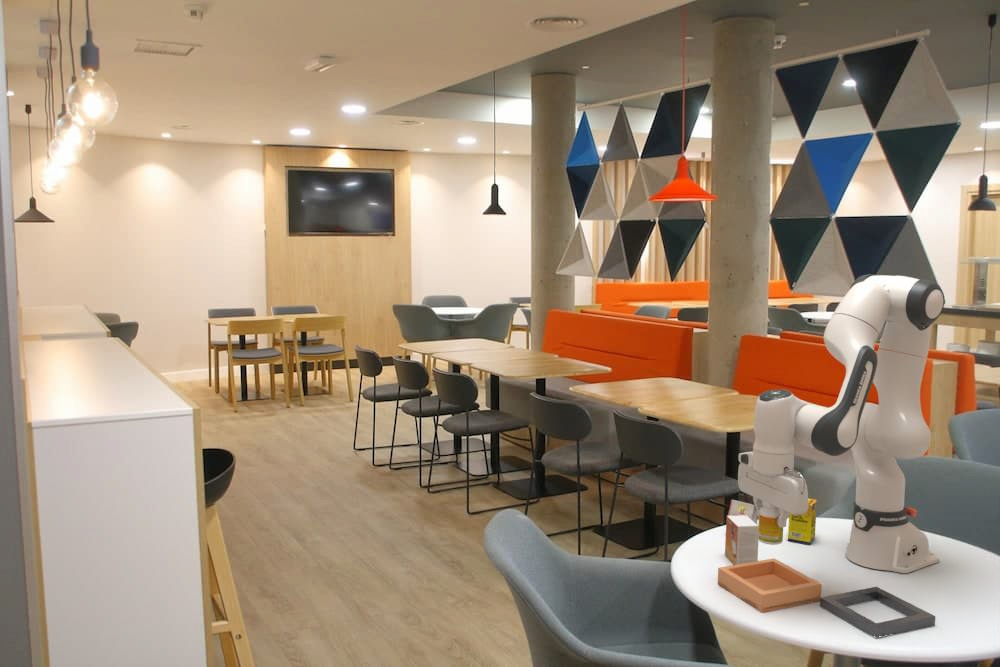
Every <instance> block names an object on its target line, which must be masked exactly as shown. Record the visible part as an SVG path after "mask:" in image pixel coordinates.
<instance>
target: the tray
mask: <svg viewBox="0 0 1000 667" xmlns="http://www.w3.org/2000/svg"><path fill="white" fill-rule="evenodd" d="M717 568H718V569H717V586H718V585H719V586H720V587H722V588H723V589H725V590H726V591H728V592H729V593H731V594H732V595H734V596H736V597H737V598H739V599H740V600H742V601H743V602H745V603H746V604H748V605H750V606H751V607H752V608H754V609H756V610H757V611H759V612H760V613H766V612H772V611H776V610H782V609H785V608H786V609H787V608H792V607H797V606H801V605H807V604H813V603H818V602H820V597H822V583H820V582H819V581H817V580H815V579H813V578H812V577H809V576H808V575H807V574H804V573H802V572H800V571H799V570H797V569H795V568H793V567H791V566H789V565H787V564H786V563H784V562H782V561H780V560H779V559H776V558H775V557H774V558H768V559H762V560H758V561H755V562H749V563H743V564H737V565H734V564H733V565H732V564H731V565H727V566H720V567H717Z"/></svg>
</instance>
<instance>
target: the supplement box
mask: <svg viewBox="0 0 1000 667" xmlns="http://www.w3.org/2000/svg"><path fill="white" fill-rule="evenodd" d="M817 502H818V500H817V499H814V498H808V510H807V512H806V513H805V514H799V515H793V514H790V515H789V517H788V535H787V541H788V542H792V543H797V544H801V545H809V546H810V545H811V544H812V542H813V541H814V540H815V539H816V527H817V526H816V523H817Z"/></svg>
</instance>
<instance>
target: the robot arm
mask: <svg viewBox="0 0 1000 667" xmlns="http://www.w3.org/2000/svg"><path fill="white" fill-rule="evenodd" d="M945 302H946V301H945V294H944V291H943V289H942V288H941V286H940V285H939V284H938V283H936V282H934V281H932V280H929V279H919V278H915V277H911V276H906V275H886V274H885V275H884V274H883V275H881V274H879V275H878V274H876V273H873V274H872V273H871V274H870V273H869V274H868V273H867V274H864V275H860V276H858V277H857V278H856V279H855V280H854V281H853V282H852V284H851V285H850V287H849V289H848V291H847V292H846V293H845V295H844V296H843V297H842V299H841V300H840V302H839V303H838V305H837V306H836V308H835V310H834V312H833V313H832V315H831V317H830V319H829V321H828V322H827V325H826V326H825V329H824V332H823V342H824V343H823V344H824V345H825V348H826V349H827V351H828V353H829V354H830V355H831V356H832V357H833V358H834V359H835V360H837V361H838V362H839V363H841V364H842V365H844V367H845V376H844V380H843V382H842V385H841V387H840V391H839V394H838V397H837V400H836V402H835V403H834V404H833V405H831V406H830V407H827V406H822V405H818V404H815V403H812V402H809V401H805V400H802V399H800V398H799V397H797V396H796V395H794V394H793V393H792V391H791V390H786V389H783V388H781V389H780V388H779V389H769V390H765V391H764V392H762V393H759V395H758V397H757V400H756V403H755V408H754V413H753V414H754V418H753V432H754V436H755V437H754V438H755V439H754V443H753V445H752V451H745V452H741V453H738V462H740V463H739V465H738V472H737V485H738V487H739V490H740V491H741V492H742V493H745V494H747V495H749V496H752V498H753V499H752V501H753V505H755V510H756V515H757V518H759V509H760V508H761V507H763V505H762V500H765V501H767V502H769V504H771V505H773V506H775V507H778V508H779V513H781V514H780V516H779V518H776V525H777V526H779V527H781V528H782V527H783V528H786V526H787V520H788V519H789V515H790V514H793V515H799V514H805V513H806V512H807V510H808V499H809V492H808V486H807V483H806V479H805V478H804V476H803V475H802V472H800V471H797V470H794V469H795V466H794V464H795V446H794V445H795V444H800V445H802V446H804V447H809V448H811V449H815V450H817V451H820V452H821V453H824V454H827V455H828V456H831V457H837V456H841V455H844V454H845V453H846V452H848V451H849V450H851V454H852V457H853V461H854V462H853V463H854V467H855V476H856V478H855V479H856V480H855V500H854V502H853V505H852V517H853V520H852V523H851V529H850V531H851V532H850V537H849V542H848V543H847V546H846V552H845V557H846V558H847V559H848V560H849V561H850V562H852V563H854V564H856V565H859V566H862V567H864V568H869V569H873V570H880V571H890V572H895V573H899V574H908V573H912V572H914V571H917V570H920V569H922V568H923V569H924V568H925V567H928V566H930V565H933V564H937V563H939V562H940V558H939V556H938V555H937V554H936V553H934V552H932V551H931V550H929V549H930V547H929V546H930V544H929V539H928V537H927V535H926V534H925V533H924V532H922V531H921V530H920V529H919V528H918V527H916V525H914V524H913V523H911V521H910V520H909V519H910V518H909V516H911V517H912V518H914V517H916V516H917V515H918V510H917V509H916V508H912V507H911V506H907V507H905V493H906V492H905V490H906V477H905V475H904V472H903V471H902V470H901V468H900V467H899V465H898V462H897V460H896V458H897V459H906V460H907V459H908V460H914V459H915V460H916V459H918V458H921V457H922V456H923V455H924V454H925V453H927V451H928V449H929V448H930V446H931V443H932V442H931V441H932V434H931V430H930V428H929V425H927V422H926V421H925V417H924V416H923V412H922V404H921V387H922V382H923V376H924V371H925V368H926V367H925V366H926V365H927V364H926V363H927V358H928V355H929V350H930V346H931V337H932V335H931V333H932V324H934V323H935V322H936V321H937V319H938V318H939V317H940V316H941V315H942V312H943V311H944V308H945ZM885 322H886V325H885ZM884 325H885V327H884ZM883 327H884V329H883ZM882 331H883V332H882ZM881 332H882V335H881V338H880V340H879V346H878V349H877V353H876V351H875V346H876V342H877V340H878V338H879V336H880V334H881ZM872 385H874V387H875V388H876V391H877V396H878V404H876V403H874V402H867V399H868V396H869V393H870V391H871V388H872Z"/></svg>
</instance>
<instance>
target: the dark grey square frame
mask: <svg viewBox="0 0 1000 667" xmlns="http://www.w3.org/2000/svg"><path fill="white" fill-rule="evenodd" d="M872 600H873V601H877V600H878V601H877V602H879V601H880V602H879V603H881V604H883V605H885V606H887V607H889V608H891V609H892V608H893V609H892V610H895V611H896V612H899V613H900V614H902V615H904V617H899V618H895V619H890V620H885V621H880V622H875V621H873V620H872V619H870V618H867V617H866V616H864V615H862V614H860V613H859V612H857V611H855V610H853V609H852V608H850V607H848V606H852V605H858V604H862V603H867V601H868V602H873V601H872ZM819 606H820V608H823V609H824V610H826V611H828V612H829V613H831V614H833V615H835V616H836V617H837V618H839V619H841V620H843V621H845V622H847V623H848V624H849V625H852V626H853V627H855V628H856V629H859V630H861V631H862V632H864V633H865V632H866V634H867V633H868V634H867V635H869V634H870V635H869V636H871V635H872V636H875V637H879V636H885V635H889V636H891V635H890V634H894V635H897V634H896V633H898V634H902V633H901V632H903V633H906V632H907V633H908V632H911V631H917V630H921V629H924V628H925V629H926V628H929V627H930V628H931V627H933V626H936V615H934V614H931V613H930V612H928V611H926V610H924V609H922V608H920V607H918V606H916V605H914V604H912V603H910V602H908V601H906V600H904V599H902V598H900V597H898V596H897V595H894V594H893V593H890V592H888V591H886V590H884V589H883V588H880V587H879V586H873V587H867V588H863V589H862V588H861V589H857V590H852V591H851V590H850V591H846V592H842V593H837V594H831V595H827V596H821V597H820V601H819ZM872 636H871V637H872ZM885 637H886V636H885Z"/></svg>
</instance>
